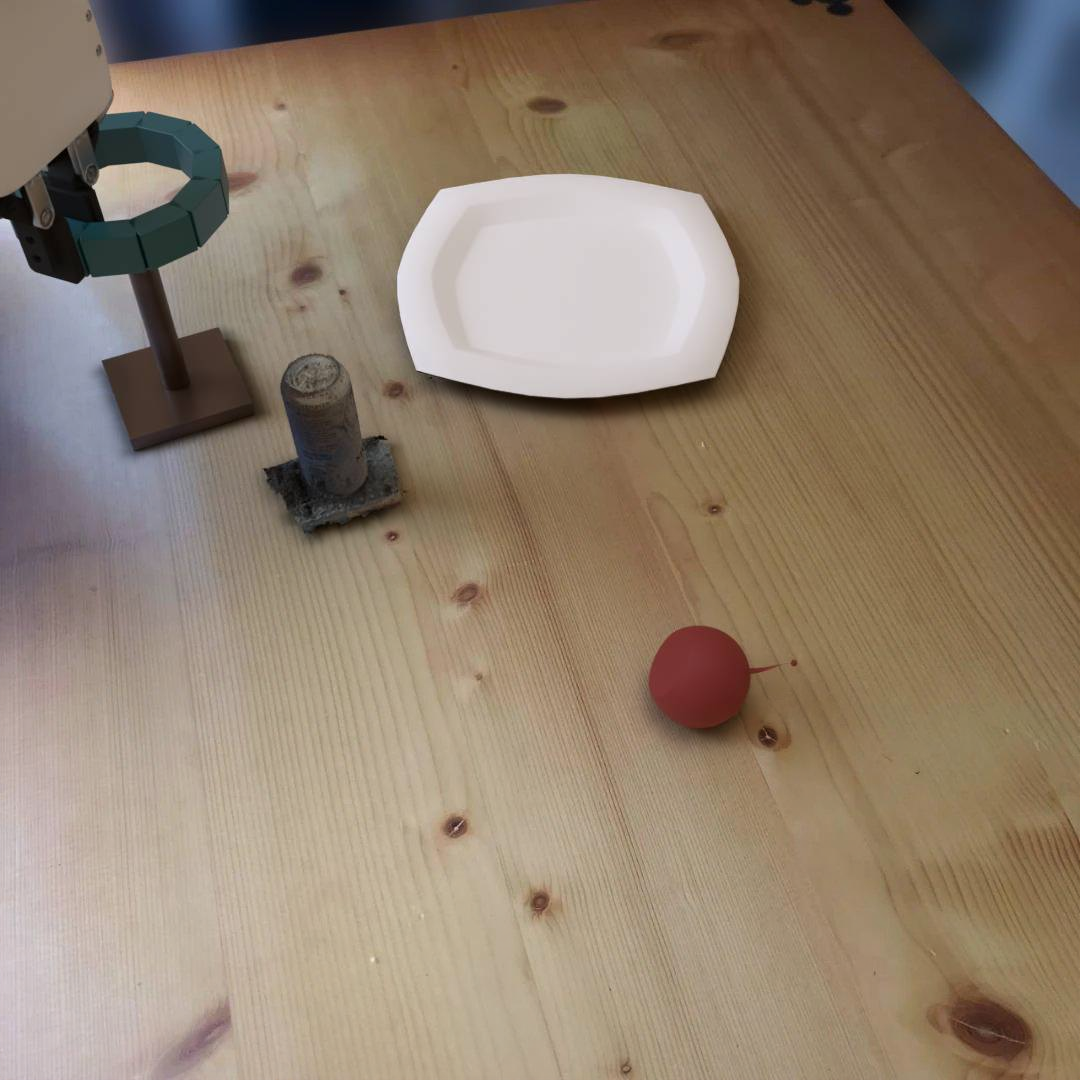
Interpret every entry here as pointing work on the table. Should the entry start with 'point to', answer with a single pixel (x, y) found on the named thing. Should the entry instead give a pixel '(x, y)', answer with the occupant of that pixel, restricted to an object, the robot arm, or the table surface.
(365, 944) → the table surface
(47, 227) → the robot arm
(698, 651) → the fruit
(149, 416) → the post
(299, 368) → the can on ragged base
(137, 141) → the ring
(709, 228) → the plate
